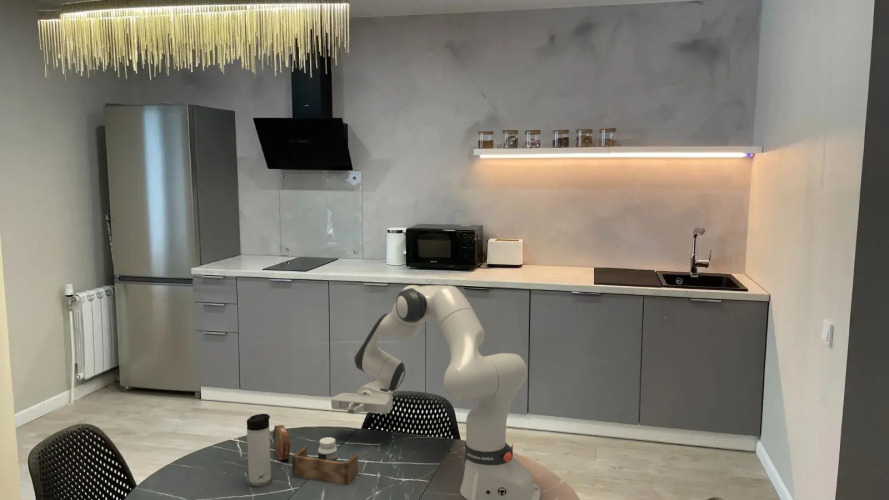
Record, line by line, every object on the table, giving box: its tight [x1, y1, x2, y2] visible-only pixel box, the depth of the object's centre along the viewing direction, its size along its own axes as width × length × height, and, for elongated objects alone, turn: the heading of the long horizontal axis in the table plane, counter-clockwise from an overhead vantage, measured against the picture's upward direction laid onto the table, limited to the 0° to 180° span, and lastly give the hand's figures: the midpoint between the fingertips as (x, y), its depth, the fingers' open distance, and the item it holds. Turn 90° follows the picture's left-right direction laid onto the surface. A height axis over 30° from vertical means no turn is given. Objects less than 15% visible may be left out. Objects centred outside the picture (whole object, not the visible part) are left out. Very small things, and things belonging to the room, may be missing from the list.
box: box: [291, 446, 359, 486], centre depth 189 cm, size 18×7×6 cm, turn 72°
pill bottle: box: [317, 436, 338, 462], centre depth 191 cm, size 6×6×10 cm
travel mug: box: [246, 413, 272, 487], centre depth 184 cm, size 6×7×20 cm
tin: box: [273, 424, 291, 461], centre depth 203 cm, size 15×3×8 cm, turn 25°
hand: (351, 411), depth 204 cm, fingers closed
